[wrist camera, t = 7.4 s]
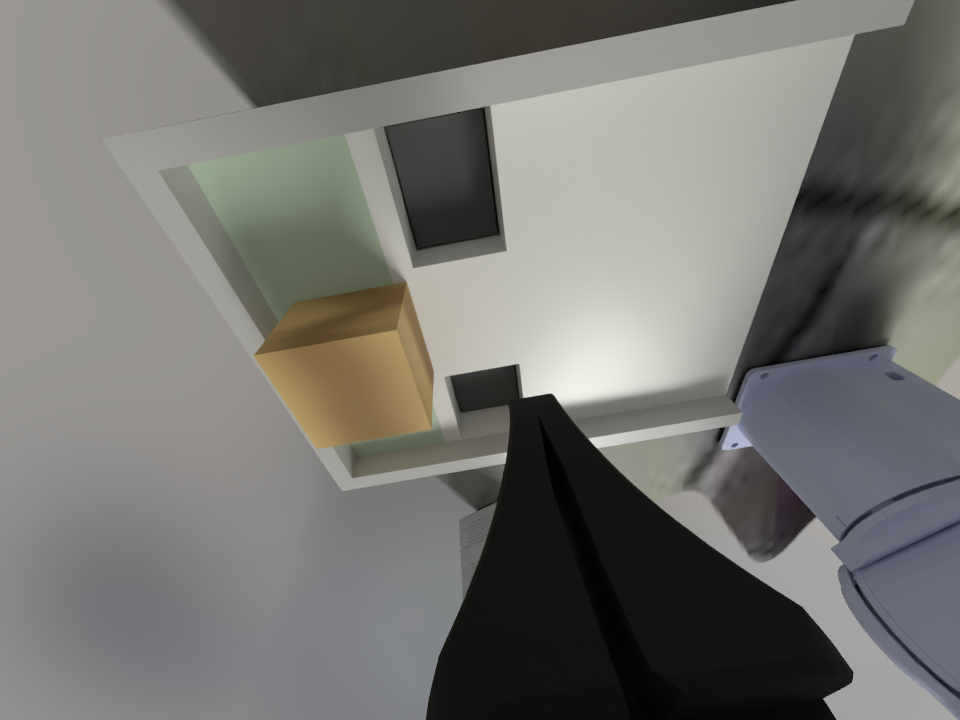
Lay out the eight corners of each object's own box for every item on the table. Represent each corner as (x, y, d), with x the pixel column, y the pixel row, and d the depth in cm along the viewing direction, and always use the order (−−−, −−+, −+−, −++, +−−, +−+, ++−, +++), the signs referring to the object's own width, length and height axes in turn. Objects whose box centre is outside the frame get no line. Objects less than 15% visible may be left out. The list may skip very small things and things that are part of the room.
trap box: (803, 7, 13) (925, -26, 10) (697, 380, 23) (738, 424, 20) (183, 130, 13) (100, 138, 10) (355, 439, 24) (342, 491, 21)
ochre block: (406, 281, 15) (396, 329, 12) (433, 371, 18) (431, 429, 15) (293, 302, 15) (253, 355, 12) (339, 387, 18) (316, 448, 15)
